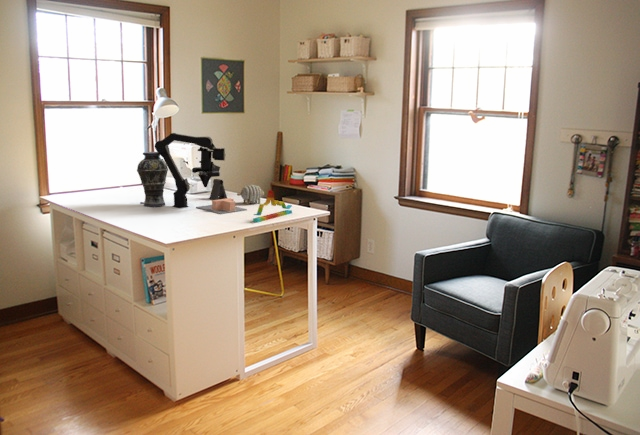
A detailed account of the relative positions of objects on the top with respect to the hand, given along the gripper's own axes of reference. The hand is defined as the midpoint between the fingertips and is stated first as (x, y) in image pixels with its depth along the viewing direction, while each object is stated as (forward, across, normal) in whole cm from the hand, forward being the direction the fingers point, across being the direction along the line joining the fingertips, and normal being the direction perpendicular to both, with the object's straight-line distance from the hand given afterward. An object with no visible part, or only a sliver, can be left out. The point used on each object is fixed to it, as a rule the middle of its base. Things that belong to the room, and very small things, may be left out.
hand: (205, 187), depth 337 cm
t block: (+10, -15, -4) cm, 19 cm away
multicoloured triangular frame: (+10, -45, -12) cm, 48 cm away
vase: (+13, +23, +19) cm, 32 cm away
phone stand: (+12, +18, -22) cm, 31 cm away
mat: (+11, -10, -4) cm, 15 cm away
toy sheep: (+11, -6, -28) cm, 31 cm away
